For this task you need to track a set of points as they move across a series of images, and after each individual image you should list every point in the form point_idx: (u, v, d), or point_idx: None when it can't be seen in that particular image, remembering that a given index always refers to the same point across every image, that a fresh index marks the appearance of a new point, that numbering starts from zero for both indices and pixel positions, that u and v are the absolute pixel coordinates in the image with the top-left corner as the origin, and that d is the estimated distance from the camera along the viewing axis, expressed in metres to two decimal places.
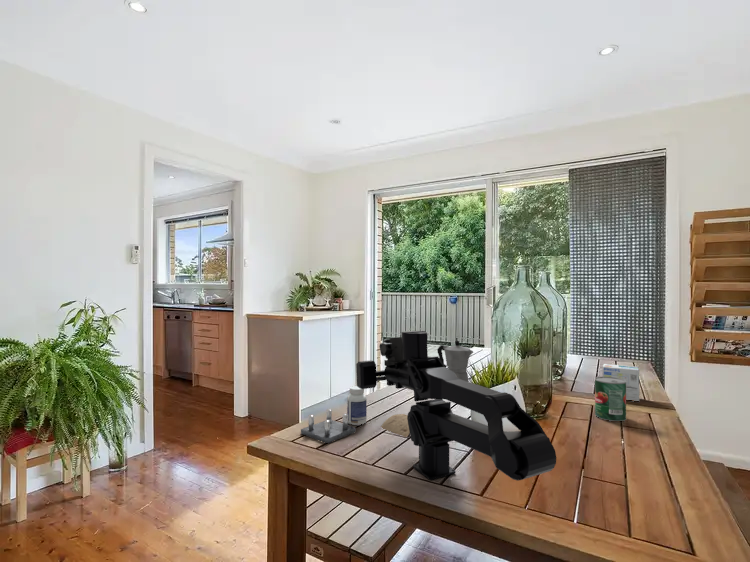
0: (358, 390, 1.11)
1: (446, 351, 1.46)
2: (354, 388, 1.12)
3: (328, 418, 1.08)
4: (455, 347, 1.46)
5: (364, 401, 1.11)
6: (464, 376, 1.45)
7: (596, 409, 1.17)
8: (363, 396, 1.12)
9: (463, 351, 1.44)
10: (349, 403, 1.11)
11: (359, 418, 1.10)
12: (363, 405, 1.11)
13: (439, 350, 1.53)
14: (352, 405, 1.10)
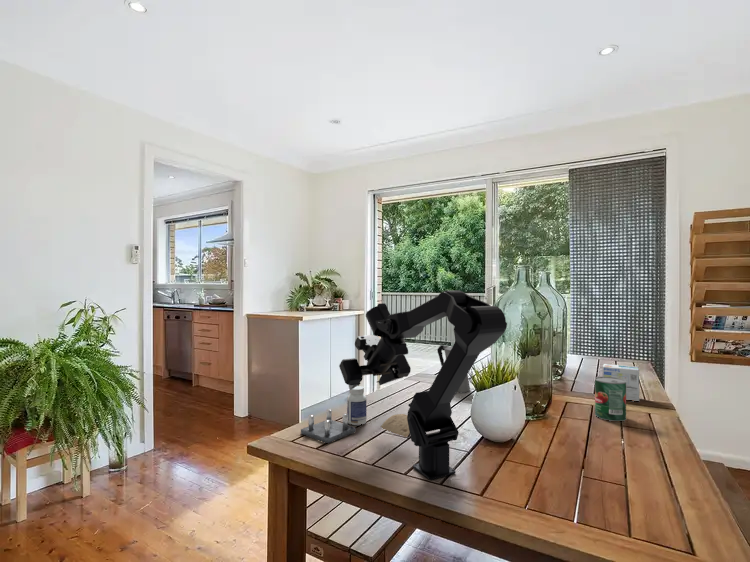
0: (358, 390, 1.11)
1: (446, 351, 1.46)
2: (354, 388, 1.12)
3: (328, 418, 1.08)
4: None
5: (364, 401, 1.11)
6: None
7: (596, 409, 1.17)
8: (363, 396, 1.12)
9: None
10: (349, 403, 1.11)
11: (359, 418, 1.10)
12: (363, 405, 1.11)
13: (439, 350, 1.53)
14: (352, 405, 1.10)
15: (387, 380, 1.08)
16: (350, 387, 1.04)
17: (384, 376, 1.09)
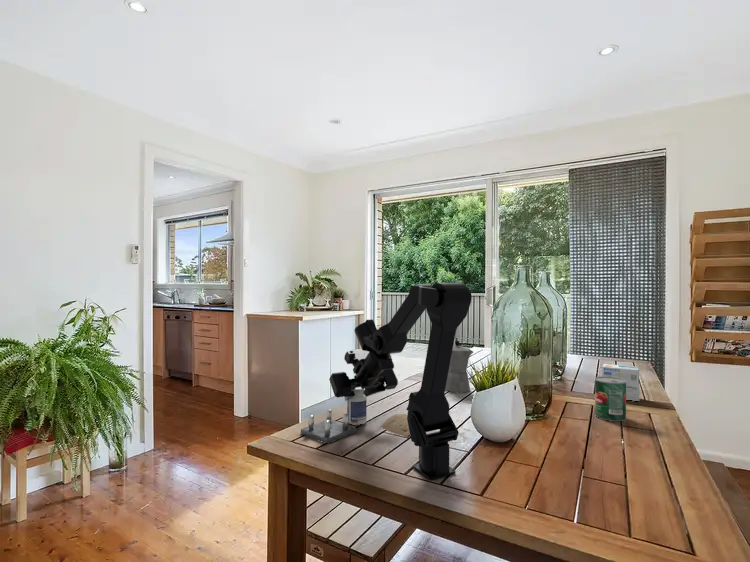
0: (358, 390, 1.11)
1: None
2: None
3: (328, 418, 1.08)
4: (455, 347, 1.46)
5: (364, 401, 1.11)
6: (464, 376, 1.45)
7: (596, 409, 1.17)
8: (363, 396, 1.12)
9: (463, 351, 1.44)
10: (349, 403, 1.11)
11: (359, 418, 1.10)
12: (363, 405, 1.11)
13: None
14: (352, 404, 1.10)
15: (370, 393, 1.12)
16: (346, 398, 1.10)
17: (367, 389, 1.13)
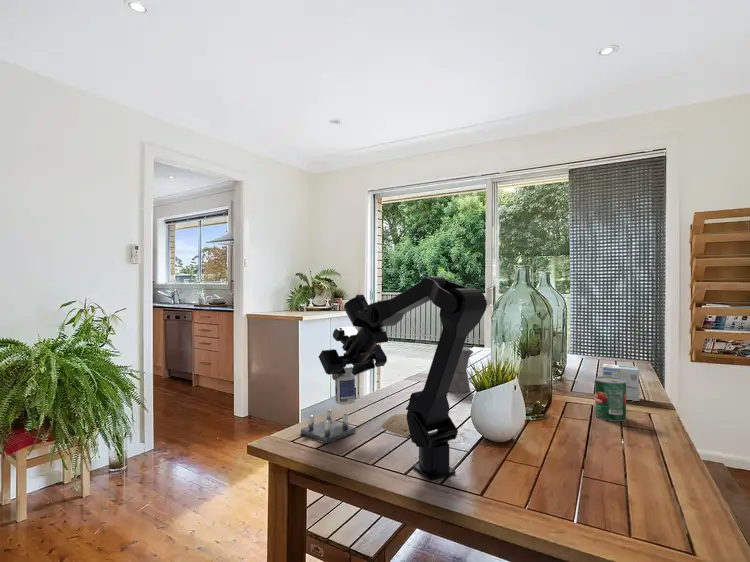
0: (347, 368, 1.08)
1: None
2: None
3: (328, 418, 1.08)
4: None
5: (353, 379, 1.08)
6: (464, 376, 1.45)
7: (596, 409, 1.17)
8: (352, 375, 1.09)
9: (463, 351, 1.44)
10: (338, 382, 1.07)
11: (348, 397, 1.07)
12: (352, 384, 1.08)
13: None
14: (341, 384, 1.07)
15: (359, 371, 1.09)
16: (334, 377, 1.07)
17: (356, 367, 1.10)
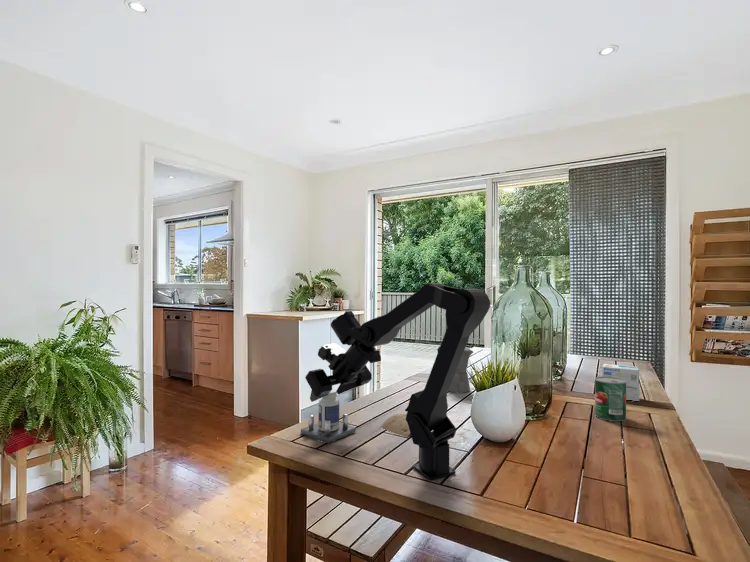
0: (332, 393, 1.03)
1: None
2: None
3: None
4: None
5: (338, 405, 1.04)
6: (464, 376, 1.45)
7: (596, 409, 1.17)
8: (336, 399, 1.04)
9: None
10: (322, 408, 1.02)
11: (334, 424, 1.02)
12: (337, 409, 1.03)
13: None
14: (326, 410, 1.02)
15: (348, 388, 1.06)
16: (313, 399, 1.00)
17: (344, 385, 1.07)
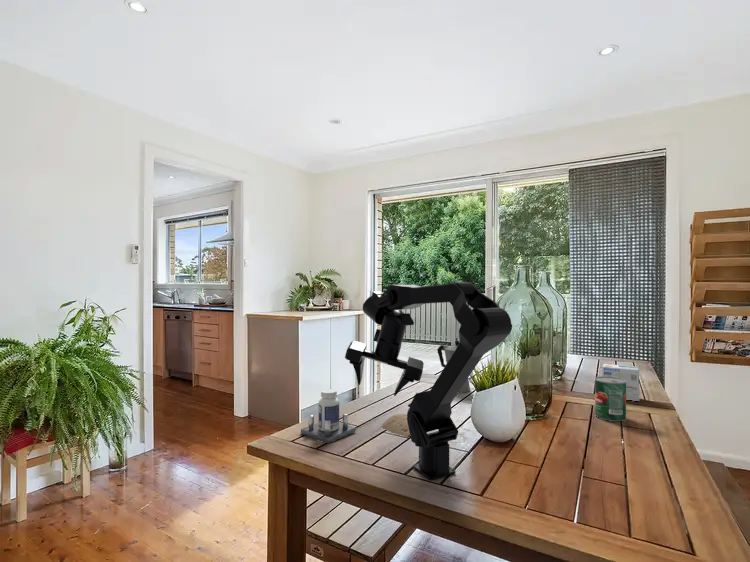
0: (332, 393, 1.03)
1: (446, 351, 1.46)
2: (327, 392, 1.03)
3: None
4: (455, 347, 1.46)
5: (338, 405, 1.04)
6: None
7: (596, 409, 1.17)
8: (336, 399, 1.04)
9: None
10: (322, 408, 1.02)
11: (334, 424, 1.02)
12: (337, 409, 1.03)
13: (439, 350, 1.53)
14: (326, 410, 1.02)
15: (398, 384, 0.97)
16: (357, 378, 1.00)
17: (398, 383, 0.99)
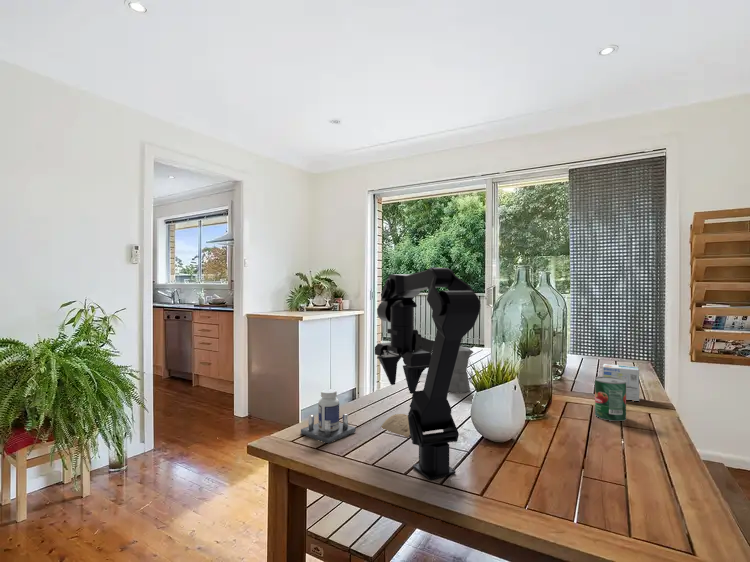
0: (332, 393, 1.03)
1: None
2: (327, 392, 1.03)
3: None
4: None
5: (338, 405, 1.04)
6: (464, 376, 1.45)
7: (596, 409, 1.17)
8: (336, 399, 1.04)
9: (463, 351, 1.44)
10: (322, 408, 1.02)
11: (334, 424, 1.02)
12: (337, 409, 1.03)
13: None
14: (326, 410, 1.02)
15: None
16: None
17: None
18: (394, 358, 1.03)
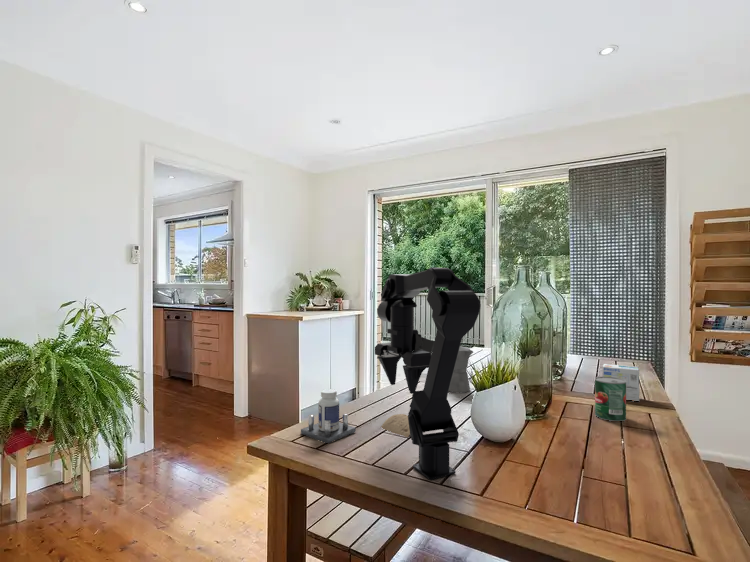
0: (332, 393, 1.03)
1: None
2: (327, 392, 1.03)
3: None
4: None
5: (338, 405, 1.04)
6: (464, 376, 1.45)
7: (596, 409, 1.17)
8: (336, 399, 1.04)
9: (463, 351, 1.44)
10: (322, 408, 1.02)
11: (334, 424, 1.02)
12: (337, 409, 1.03)
13: None
14: (326, 410, 1.02)
15: None
16: None
17: None
18: (394, 358, 1.03)
